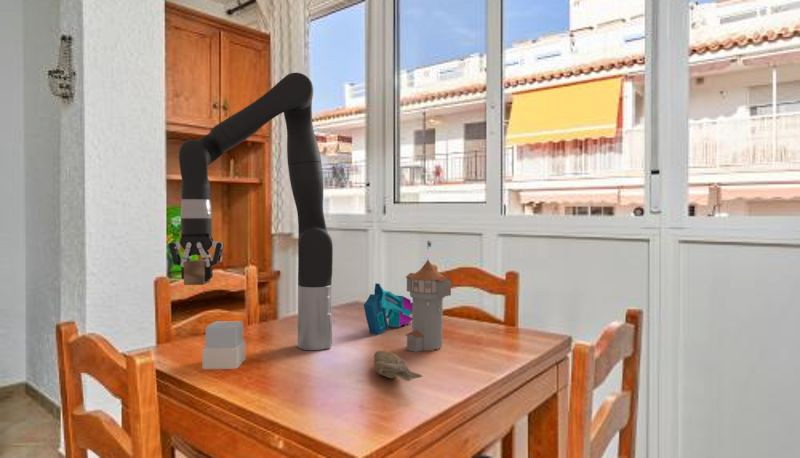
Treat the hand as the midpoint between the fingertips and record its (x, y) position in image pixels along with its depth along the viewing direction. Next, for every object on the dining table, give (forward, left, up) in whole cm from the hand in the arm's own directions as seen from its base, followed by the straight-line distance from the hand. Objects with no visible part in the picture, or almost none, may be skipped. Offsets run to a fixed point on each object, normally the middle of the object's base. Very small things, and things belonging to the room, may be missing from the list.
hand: (197, 280), depth 132 cm
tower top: (-10, +11, -14) cm, 21 cm away
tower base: (-10, +11, -19) cm, 24 cm away
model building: (-61, -4, -19) cm, 65 cm away
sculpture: (-51, +24, -19) cm, 60 cm away
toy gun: (-52, -27, -19) cm, 62 cm away
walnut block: (0, 0, -1) cm, 1 cm away
